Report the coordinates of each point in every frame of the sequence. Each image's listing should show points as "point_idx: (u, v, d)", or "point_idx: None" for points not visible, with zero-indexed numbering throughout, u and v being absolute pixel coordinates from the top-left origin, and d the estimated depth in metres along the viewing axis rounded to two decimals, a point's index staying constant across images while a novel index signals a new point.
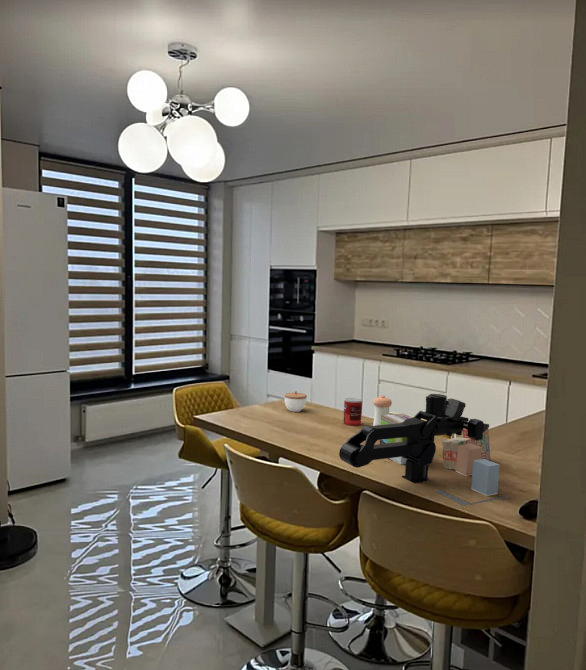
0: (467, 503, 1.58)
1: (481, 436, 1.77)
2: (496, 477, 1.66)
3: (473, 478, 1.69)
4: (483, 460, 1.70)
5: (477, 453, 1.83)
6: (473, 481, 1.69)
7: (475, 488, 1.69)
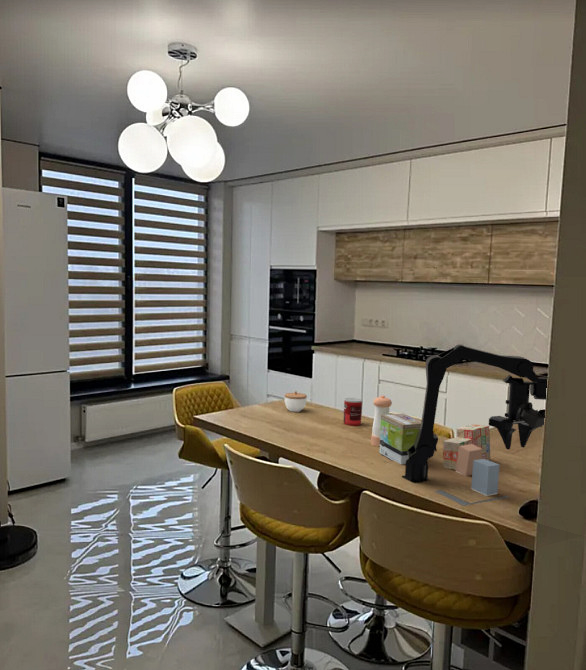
0: (467, 503, 1.58)
1: (490, 424, 1.70)
2: (496, 477, 1.66)
3: (473, 478, 1.69)
4: (483, 460, 1.70)
5: (477, 454, 1.83)
6: (473, 481, 1.69)
7: (475, 488, 1.69)
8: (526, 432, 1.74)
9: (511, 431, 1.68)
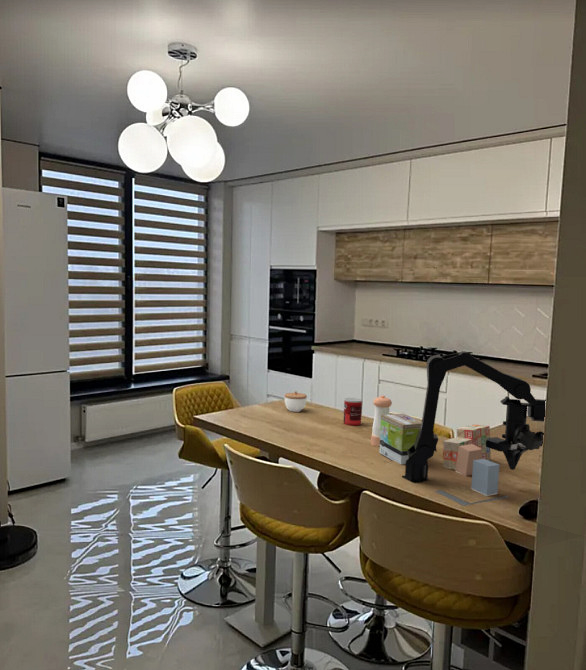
0: (467, 503, 1.58)
1: (488, 445, 1.70)
2: (496, 477, 1.66)
3: (473, 478, 1.69)
4: (483, 460, 1.70)
5: (477, 454, 1.83)
6: (473, 481, 1.69)
7: (475, 488, 1.69)
8: (516, 454, 1.73)
9: (515, 452, 1.70)
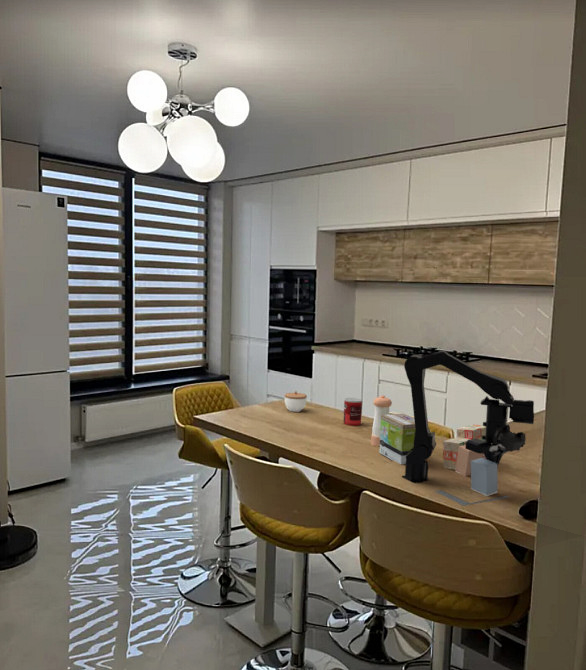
0: (467, 503, 1.58)
1: (467, 447, 1.66)
2: (494, 477, 1.66)
3: (472, 478, 1.69)
4: (481, 460, 1.69)
5: (477, 454, 1.83)
6: (472, 481, 1.69)
7: (475, 488, 1.69)
8: (497, 455, 1.69)
9: (496, 453, 1.66)
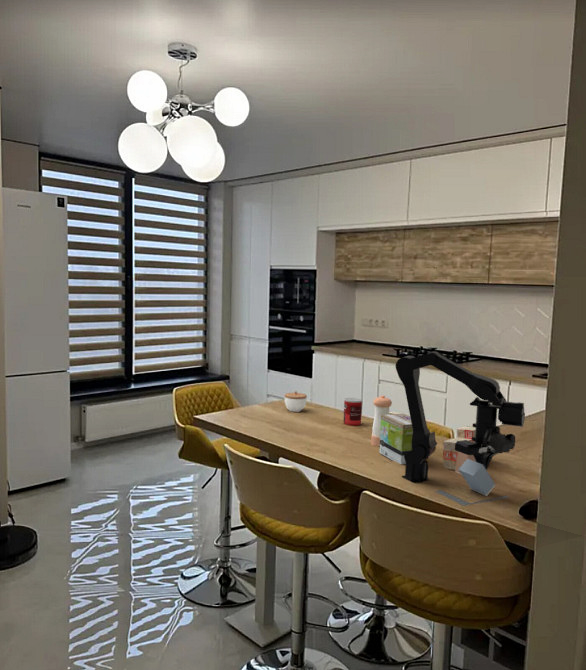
0: (467, 503, 1.58)
1: (456, 448, 1.64)
2: (486, 476, 1.64)
3: (467, 482, 1.68)
4: (467, 463, 1.67)
5: None
6: (469, 484, 1.69)
7: (473, 489, 1.68)
8: (486, 457, 1.67)
9: (485, 455, 1.64)
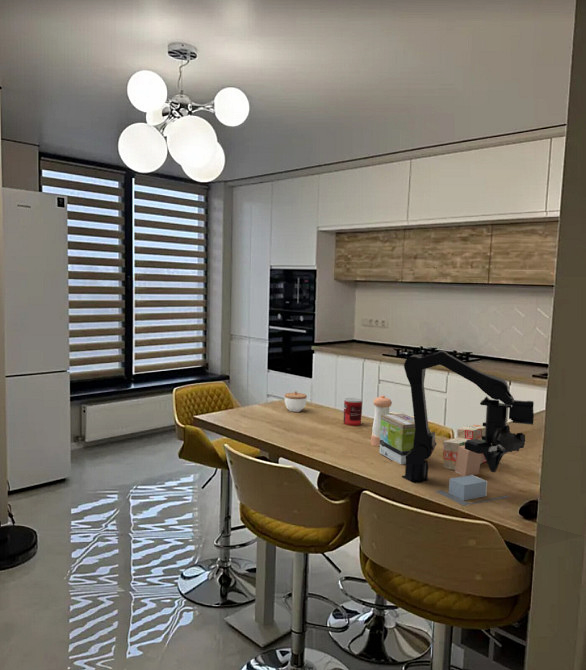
0: (467, 503, 1.58)
1: (466, 447, 1.66)
2: (474, 486, 1.62)
3: None
4: (452, 484, 1.65)
5: (477, 455, 1.83)
6: None
7: None
8: (496, 456, 1.68)
9: (495, 454, 1.65)
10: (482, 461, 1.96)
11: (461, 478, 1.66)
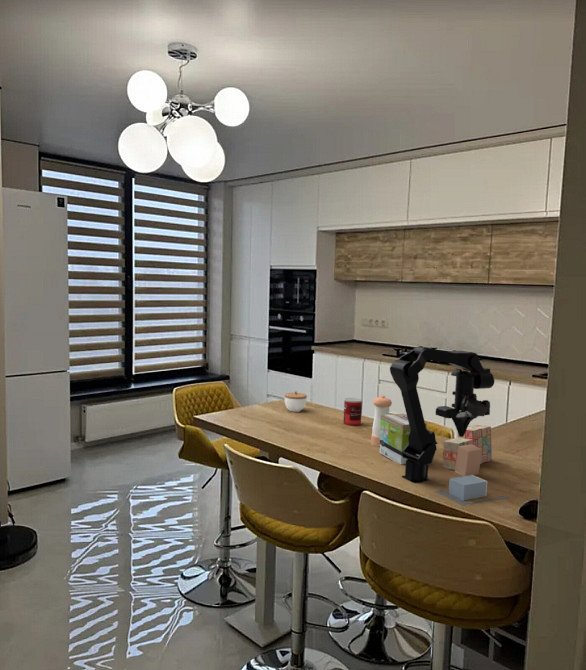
0: (467, 503, 1.58)
1: (437, 413, 1.82)
2: (474, 486, 1.62)
3: None
4: (452, 484, 1.65)
5: (477, 455, 1.83)
6: None
7: None
8: (465, 422, 1.84)
9: (463, 419, 1.81)
10: (482, 461, 1.96)
11: (461, 478, 1.66)
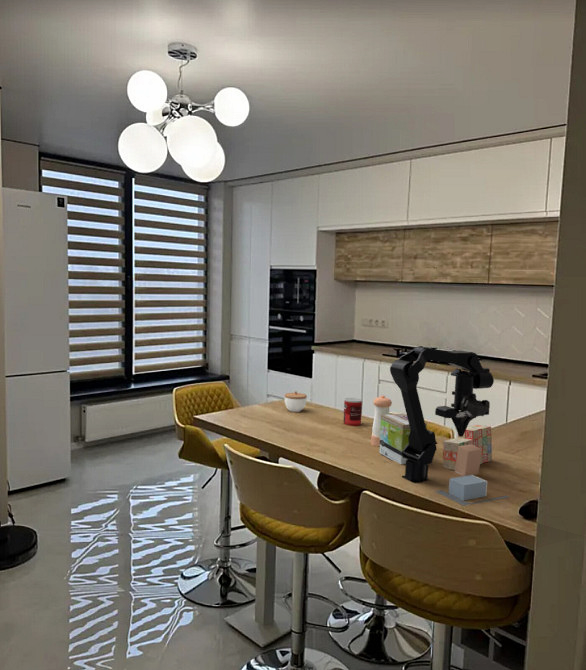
0: (467, 503, 1.58)
1: (437, 413, 1.82)
2: (474, 486, 1.62)
3: None
4: (452, 484, 1.65)
5: (477, 455, 1.83)
6: None
7: None
8: (464, 422, 1.84)
9: (462, 419, 1.82)
10: (482, 461, 1.96)
11: (461, 478, 1.66)
